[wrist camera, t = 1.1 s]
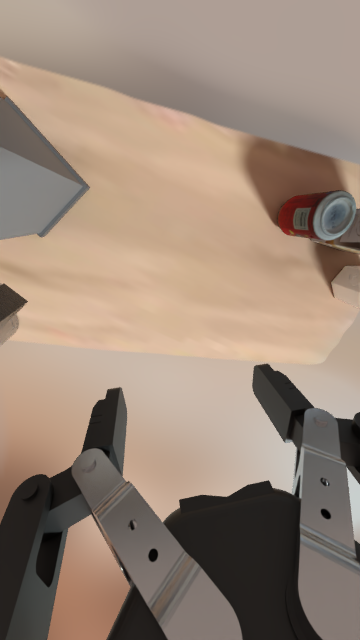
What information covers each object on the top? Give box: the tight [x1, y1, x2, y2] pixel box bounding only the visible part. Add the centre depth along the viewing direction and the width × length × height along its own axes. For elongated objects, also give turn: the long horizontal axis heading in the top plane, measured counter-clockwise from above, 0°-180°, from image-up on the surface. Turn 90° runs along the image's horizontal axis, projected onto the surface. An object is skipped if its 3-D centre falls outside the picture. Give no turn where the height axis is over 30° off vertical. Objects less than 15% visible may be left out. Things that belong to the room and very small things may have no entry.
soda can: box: [277, 190, 356, 241], centre depth 39 cm, size 7×7×12 cm
